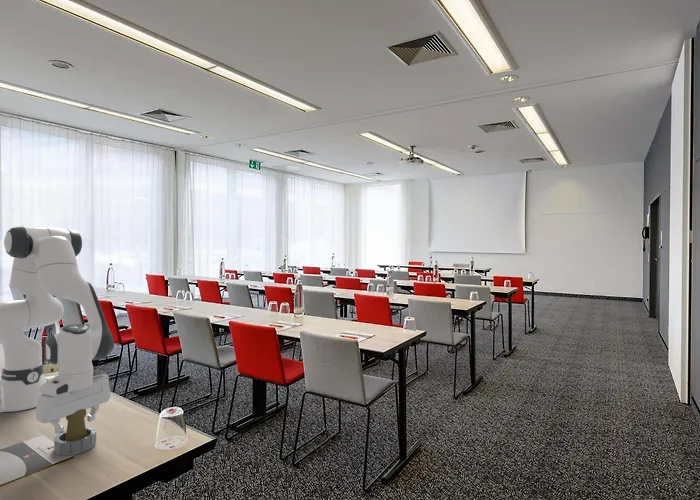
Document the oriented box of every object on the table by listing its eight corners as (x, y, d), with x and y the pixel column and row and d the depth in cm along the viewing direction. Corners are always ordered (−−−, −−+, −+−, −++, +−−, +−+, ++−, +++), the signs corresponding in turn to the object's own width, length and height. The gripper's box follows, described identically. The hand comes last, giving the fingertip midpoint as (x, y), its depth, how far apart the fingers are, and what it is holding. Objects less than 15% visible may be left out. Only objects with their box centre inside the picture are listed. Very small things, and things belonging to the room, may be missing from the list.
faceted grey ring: (46, 450, 126) (46, 438, 126) (81, 436, 135) (81, 424, 135) (68, 458, 121) (68, 446, 121) (103, 443, 131) (103, 431, 131)
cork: (75, 451, 124) (75, 413, 124) (58, 448, 126) (58, 410, 126) (92, 441, 130) (92, 405, 130) (76, 439, 132) (76, 403, 132)
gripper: (101, 369, 139) (101, 412, 139) (32, 388, 120) (32, 438, 120) (115, 372, 136) (114, 415, 136) (46, 392, 117) (46, 442, 118)
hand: (75, 426), depth 128 cm, fingers open, 8 cm apart
